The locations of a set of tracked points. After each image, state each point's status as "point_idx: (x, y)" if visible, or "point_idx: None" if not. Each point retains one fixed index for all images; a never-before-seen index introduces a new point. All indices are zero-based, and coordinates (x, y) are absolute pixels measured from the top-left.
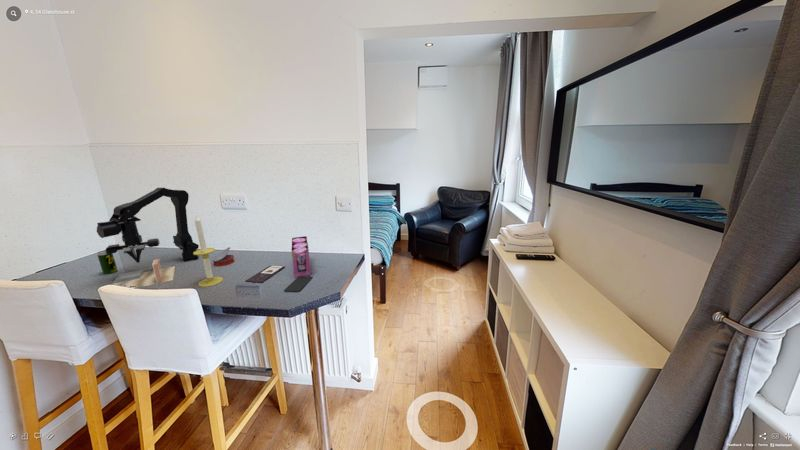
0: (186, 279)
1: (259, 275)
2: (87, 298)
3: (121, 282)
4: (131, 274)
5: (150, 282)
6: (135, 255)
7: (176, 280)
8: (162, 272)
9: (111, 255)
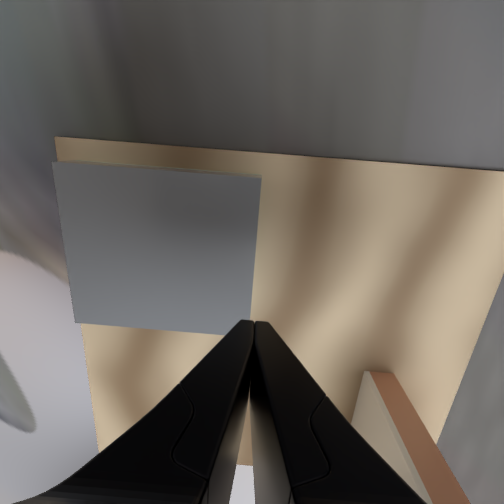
0: (483, 500)
1: None
2: (16, 427)
3: None
4: (180, 266)
5: None
6: (227, 469)
7: None
8: (407, 404)
9: None
